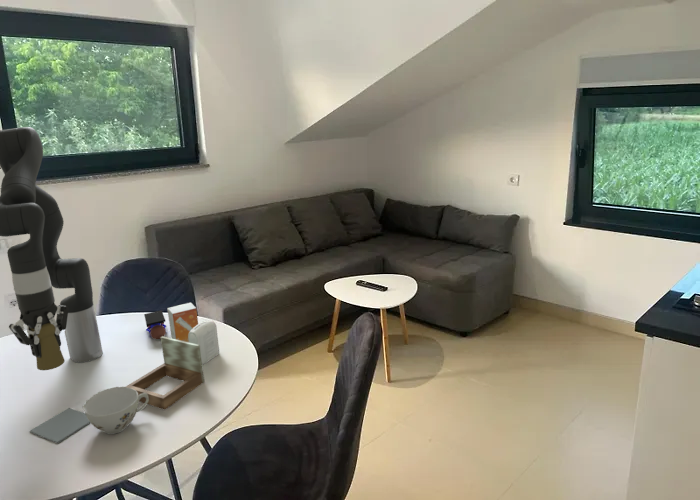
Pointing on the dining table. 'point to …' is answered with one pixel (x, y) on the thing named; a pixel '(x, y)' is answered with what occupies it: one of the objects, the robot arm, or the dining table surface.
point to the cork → (49, 348)
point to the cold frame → (173, 373)
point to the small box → (182, 320)
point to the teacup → (113, 408)
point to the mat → (61, 425)
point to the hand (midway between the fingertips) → (47, 352)
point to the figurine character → (155, 324)
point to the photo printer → (205, 339)
